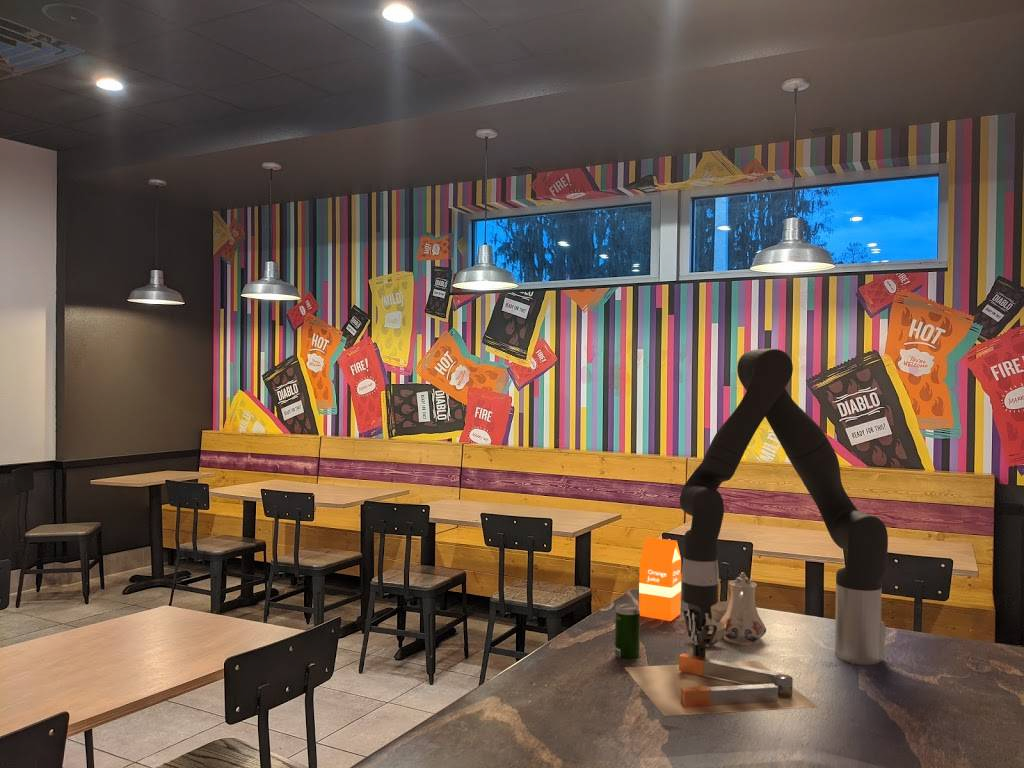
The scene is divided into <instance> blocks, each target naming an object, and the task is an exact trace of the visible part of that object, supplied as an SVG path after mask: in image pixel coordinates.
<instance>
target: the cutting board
mask: <svg viewBox="0 0 1024 768" xmlns="http://www.w3.org/2000/svg"><path fill="white" fill-rule="evenodd" d="M725 662H726V661H725ZM726 663H732V664H737V665H742V666H747V667H752V668H757V669H762V670H767V671H772V670H771V669H770V668H768V667H767V666H766V665H764V664H763V663H762V662H761V661H759V660H748V661H747V660H746V661H745V660H744V661H729V662H726ZM623 668H624V669H625V671H626V672H627V673H628V674H629V675H630V677H631V678H632V679H633V680H634V682H635V683H637V686H639V688H641V690H642V691H643V692H644V693H645V695H646V696H647V697H648V699H649V700H650V701H651V702H652V704H653V705H654V707H656V708H657V709H658V711H659V712H660V713H661V714H662V716H663V717H673V716H675V717H676V716H689V715H705V714H706V715H707V714H724V713H738V712H756V711H758V712H759V711H770V710H771V711H773V710H789V709H805V708H819V706H818V705H817V704H816V703H814V701H812V700H810V699H809V698H808V697H807V696H805V695H804V694H803V693H801V692H800V691H799V690H797V689H796V688H795V687H793V690H792V696H791V697H781V696H778V702H769V703H752V704H735V705H718V706H705V707H688V708H684V707H683V705H682V704H681V687H696V686H707V687H719V686H737V685H750V684H745V683H740V682H735V681H730V680H725V679H721V678H716V677H711V676H706V675H698V674H693V673H688V672H683V671H679V664H665V665H645V666H627V667H623Z"/></svg>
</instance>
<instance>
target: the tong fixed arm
mask: <svg viewBox="0 0 1024 768" xmlns="http://www.w3.org/2000/svg"><path fill="white" fill-rule="evenodd" d="M769 702H778V687H777V686H776V685H775V684H756V685H737V686H719V687H707V686H696V687H681V704H682V705H683V707H684V708H688V707H705V706H718V705H735V704H752V703H769Z"/></svg>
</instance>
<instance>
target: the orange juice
mask: <svg viewBox="0 0 1024 768" xmlns="http://www.w3.org/2000/svg"><path fill="white" fill-rule="evenodd" d="M680 553H681V552H680V549H679V545H678V540H673V539H664V538H655V537H650V536H648V537H647V536H646V537H645V540H644V542H643V546H642V551H641V556H640V559H639V582H638V590H639V591H638V594H639V595H638V599H639V600H638V601H639V602H638V606H639V610H640V617H646V618H650V619H651V618H652V619H656V620H662V621H668V622H671V621H673V620H674V619H676V617H679V615H681V606H682V605H681V604H682V603H681V600H682V558H681V557H682V556H681V554H680Z"/></svg>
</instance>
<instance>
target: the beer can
mask: <svg viewBox="0 0 1024 768" xmlns="http://www.w3.org/2000/svg"><path fill="white" fill-rule="evenodd" d="M614 612H615V613H614V615H615V616H614V617H615V618H614V627H615V628H614V657H617V658H621V659H626V660H633V659H637V658H639V657H640V653H641V652H640V649H641V648H640V643H641V642H640V638H641V635H640V634H641V631H640V630H641V616H640V610H639V605H637V604H633V603H619V604H616V608H615V611H614Z"/></svg>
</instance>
